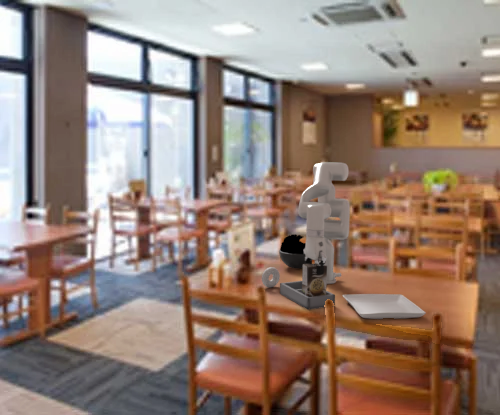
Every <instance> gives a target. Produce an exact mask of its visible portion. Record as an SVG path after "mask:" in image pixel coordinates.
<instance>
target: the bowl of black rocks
mask: <svg viewBox="0 0 500 415" xmlns="http://www.w3.org/2000/svg"><path fill="white" fill-rule="evenodd" d="M304 237H305V236H303V235H300V234H298V235H297V233H296V234H294V233H293V234H288V235H287V236H286V237H284V238H283V241H282V242H281V245H280V249H278V252H279V253H278V254H279V257H280V259H281V261H282V262H283V264H285V265H286V266H287V267H288V268H291V269H295V270H297V269H298V270H299V269H303V264H305V257H304V251H303V250H304V249H305V245H306V242H303V241H301V239H303V238H304ZM311 260H312V261H314V260H313V259H311Z"/></svg>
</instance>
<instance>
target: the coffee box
mask: <svg viewBox="0 0 500 415" xmlns="http://www.w3.org/2000/svg"><path fill="white" fill-rule="evenodd" d="M317 266H318V264H317V263H315V262H314V263H312V264H303V268H302V275H301V276H302V277H301V278H302V279H301V281H302V294H304V295H306V296H308V297H314V296H322V295H326V291H327V284H326V282H327V266H326V265H324V274H323V275H317Z"/></svg>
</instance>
